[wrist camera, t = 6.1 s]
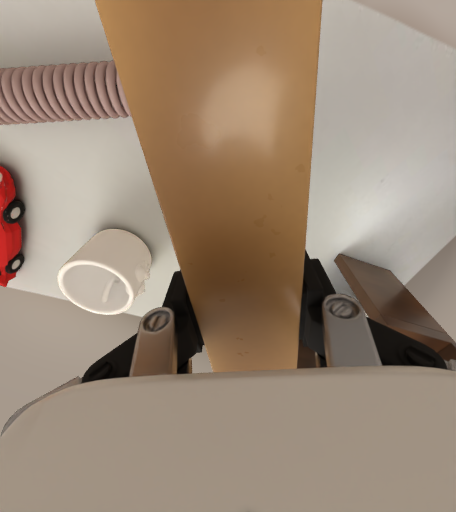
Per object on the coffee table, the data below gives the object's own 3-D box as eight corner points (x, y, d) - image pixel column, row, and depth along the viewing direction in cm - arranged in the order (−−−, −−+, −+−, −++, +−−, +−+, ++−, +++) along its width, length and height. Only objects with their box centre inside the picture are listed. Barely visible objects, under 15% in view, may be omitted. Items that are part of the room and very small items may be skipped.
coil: (122, 52, 20) (-71, 66, 21) (135, 115, 22) (-40, 125, 23) (141, 65, 24) (-21, 77, 25) (151, 117, 26) (2, 126, 27)
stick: (283, 18, 7) (327, -55, 4) (282, 356, 17) (293, 418, 14) (156, 43, 7) (92, -3, 4) (229, 359, 17) (228, 419, 14)
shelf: (390, 270, 38) (476, 365, 25) (321, 341, 50) (353, 433, 36) (339, 253, 36) (401, 345, 23) (279, 331, 48) (297, 423, 34)
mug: (154, 289, 42) (137, 331, 34) (95, 277, 40) (64, 318, 33) (160, 234, 35) (140, 271, 28) (90, 218, 34) (50, 252, 26)
